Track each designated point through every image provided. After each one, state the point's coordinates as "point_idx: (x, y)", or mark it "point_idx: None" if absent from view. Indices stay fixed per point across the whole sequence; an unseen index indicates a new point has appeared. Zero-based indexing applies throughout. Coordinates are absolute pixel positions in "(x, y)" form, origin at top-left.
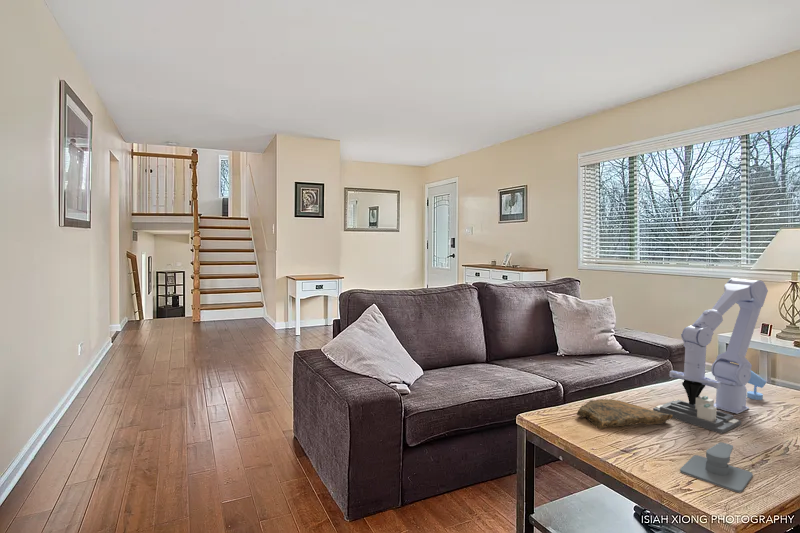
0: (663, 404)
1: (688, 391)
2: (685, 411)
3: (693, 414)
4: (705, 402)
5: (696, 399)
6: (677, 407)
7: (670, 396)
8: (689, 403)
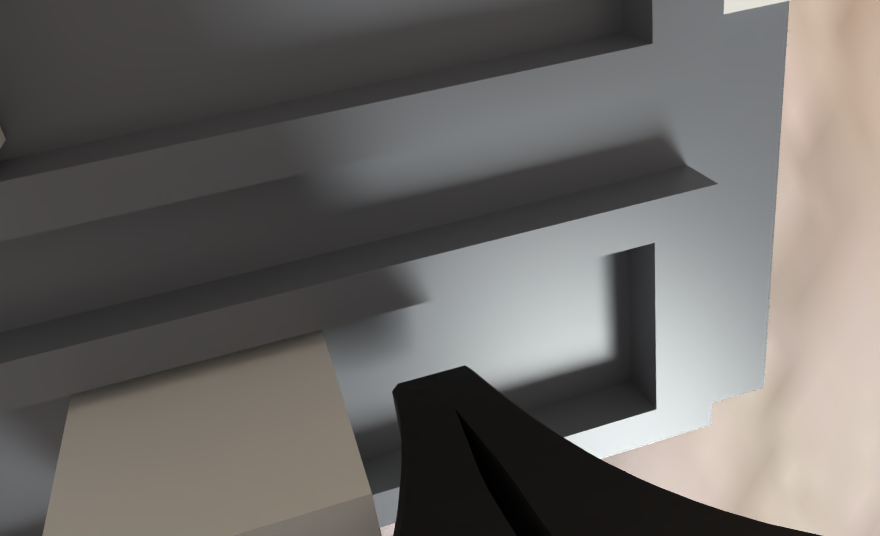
0: (779, 84)
1: (584, 507)
2: (351, 95)
3: (187, 124)
4: (136, 525)
5: (347, 472)
6: (518, 68)
7: (863, 529)
8: (465, 367)
